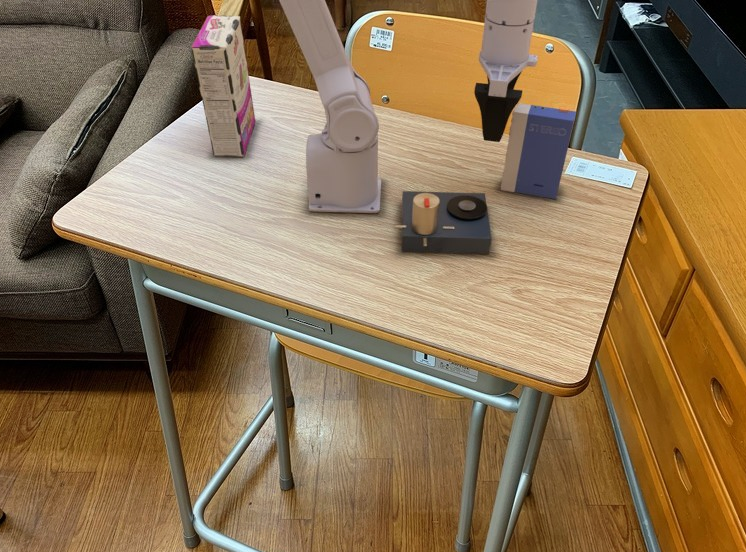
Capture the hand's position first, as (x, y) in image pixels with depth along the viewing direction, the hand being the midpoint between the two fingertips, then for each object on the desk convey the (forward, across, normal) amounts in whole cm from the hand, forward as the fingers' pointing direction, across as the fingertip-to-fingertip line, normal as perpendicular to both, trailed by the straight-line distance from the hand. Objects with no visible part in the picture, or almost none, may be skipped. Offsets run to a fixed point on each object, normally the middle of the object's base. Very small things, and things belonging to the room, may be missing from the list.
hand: (494, 125), depth 87 cm
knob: (+7, -15, +6) cm, 18 cm away
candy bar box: (+10, +5, +39) cm, 41 cm away
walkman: (+10, +1, -6) cm, 11 cm away
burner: (+7, -10, +2) cm, 12 cm away
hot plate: (+9, -12, +5) cm, 16 cm away
